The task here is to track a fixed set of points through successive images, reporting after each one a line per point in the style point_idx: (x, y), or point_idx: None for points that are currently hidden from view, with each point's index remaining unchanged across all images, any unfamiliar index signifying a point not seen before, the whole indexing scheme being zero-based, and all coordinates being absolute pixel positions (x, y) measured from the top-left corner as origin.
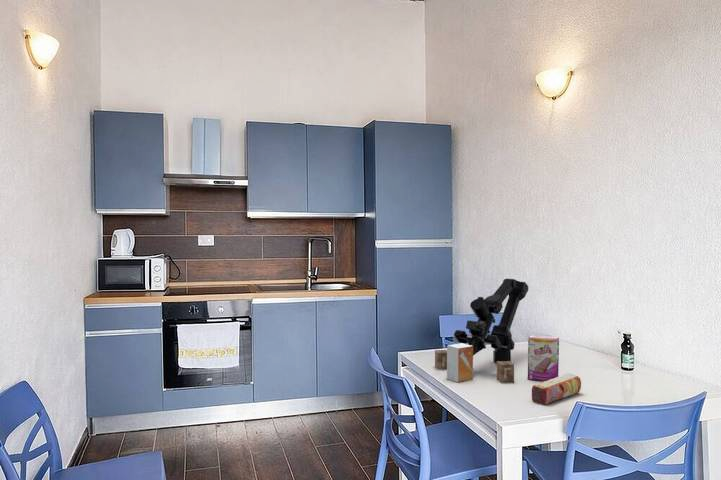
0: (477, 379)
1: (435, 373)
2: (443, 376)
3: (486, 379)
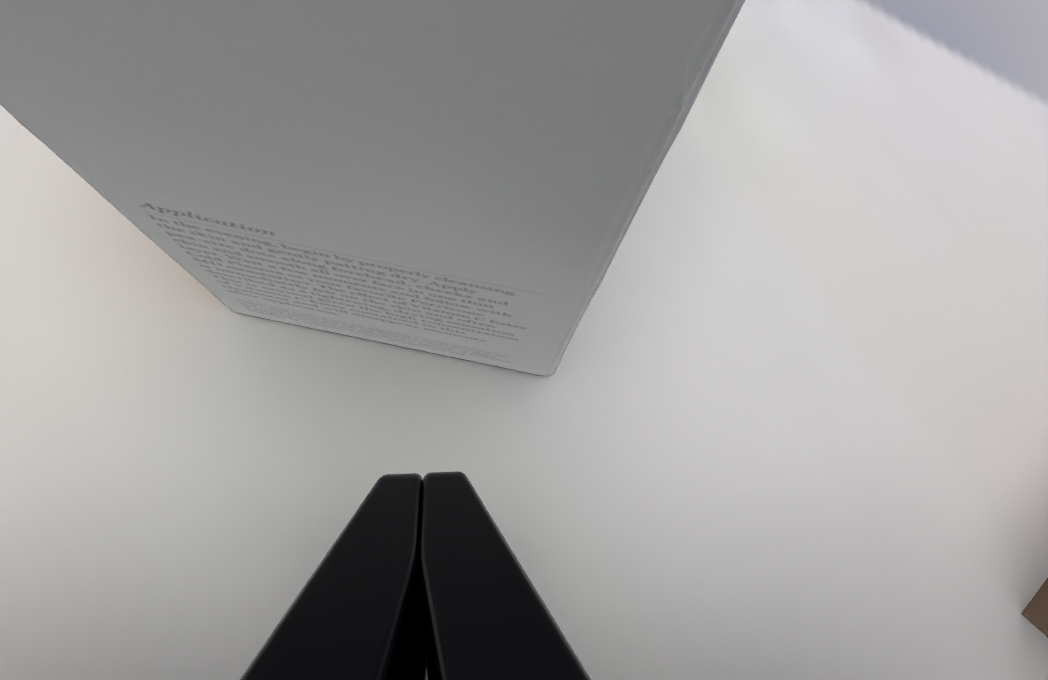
0: (156, 376)
1: (1001, 171)
2: (766, 105)
3: (3, 509)
